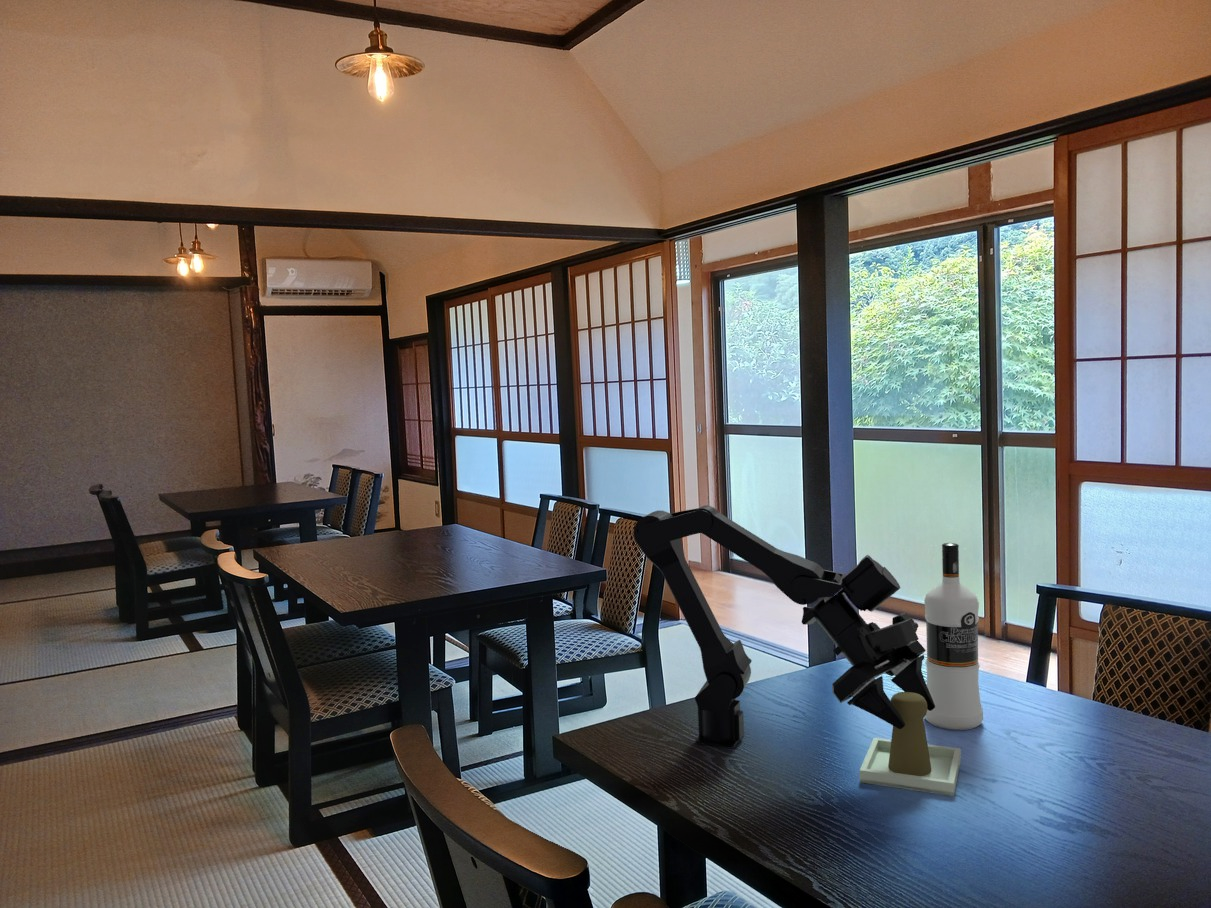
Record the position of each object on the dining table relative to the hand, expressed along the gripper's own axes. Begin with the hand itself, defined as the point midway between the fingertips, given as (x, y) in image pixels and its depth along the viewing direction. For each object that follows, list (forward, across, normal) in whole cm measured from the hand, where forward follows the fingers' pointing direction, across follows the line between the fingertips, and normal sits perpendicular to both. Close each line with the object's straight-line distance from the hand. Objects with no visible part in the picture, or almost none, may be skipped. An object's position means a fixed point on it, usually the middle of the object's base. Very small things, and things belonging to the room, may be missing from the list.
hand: (918, 718), depth 130 cm
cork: (+5, 0, +7) cm, 8 cm away
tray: (+5, 0, +7) cm, 8 cm away
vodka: (+2, +22, +10) cm, 24 cm away
